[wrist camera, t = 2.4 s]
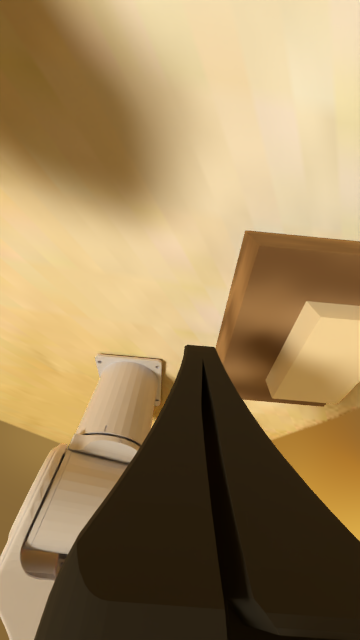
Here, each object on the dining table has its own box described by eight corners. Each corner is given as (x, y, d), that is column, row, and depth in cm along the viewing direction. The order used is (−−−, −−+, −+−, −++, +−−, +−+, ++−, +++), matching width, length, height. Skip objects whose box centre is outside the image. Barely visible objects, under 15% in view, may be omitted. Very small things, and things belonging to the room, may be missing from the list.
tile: (325, 385, 20) (337, 404, 18) (265, 380, 20) (272, 398, 18) (388, 308, 15) (412, 325, 13) (306, 301, 15) (320, 317, 13)
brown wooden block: (306, 376, 25) (323, 406, 22) (210, 368, 25) (213, 396, 22) (397, 245, 16) (450, 263, 13) (245, 230, 16) (259, 245, 12)
